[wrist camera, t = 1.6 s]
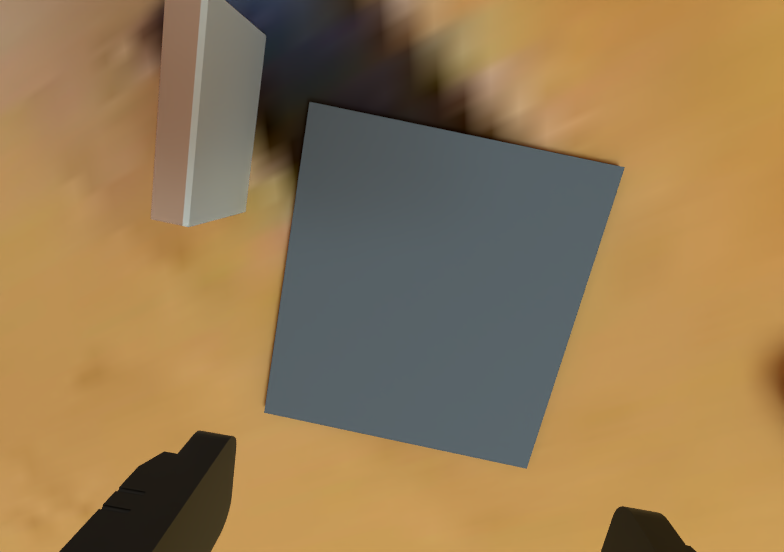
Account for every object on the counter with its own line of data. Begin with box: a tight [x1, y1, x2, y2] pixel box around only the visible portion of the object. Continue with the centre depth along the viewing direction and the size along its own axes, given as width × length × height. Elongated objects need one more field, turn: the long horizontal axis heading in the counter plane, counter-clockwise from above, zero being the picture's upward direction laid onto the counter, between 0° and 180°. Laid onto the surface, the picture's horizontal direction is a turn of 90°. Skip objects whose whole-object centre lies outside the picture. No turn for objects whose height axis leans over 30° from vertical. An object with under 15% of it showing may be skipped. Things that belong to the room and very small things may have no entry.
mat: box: [264, 102, 625, 469], centre depth 28 cm, size 20×18×1 cm
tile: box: [151, 0, 266, 227], centre depth 23 cm, size 10×2×7 cm, turn 169°
